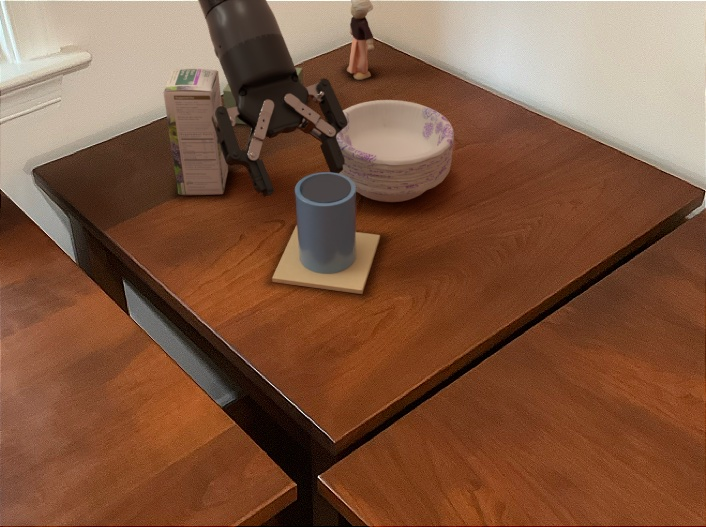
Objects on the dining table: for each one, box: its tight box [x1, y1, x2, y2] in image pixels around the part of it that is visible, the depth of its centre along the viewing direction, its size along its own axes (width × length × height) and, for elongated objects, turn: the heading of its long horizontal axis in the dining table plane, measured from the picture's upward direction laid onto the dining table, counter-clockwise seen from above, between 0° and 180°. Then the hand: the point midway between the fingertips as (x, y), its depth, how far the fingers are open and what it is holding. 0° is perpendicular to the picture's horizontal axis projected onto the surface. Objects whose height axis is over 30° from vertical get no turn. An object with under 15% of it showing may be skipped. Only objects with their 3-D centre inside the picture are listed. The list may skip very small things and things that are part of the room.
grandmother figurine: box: [346, 0, 375, 81], centre depth 124 cm, size 8×4×13 cm, turn 34°
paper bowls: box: [336, 99, 455, 203], centre depth 102 cm, size 15×15×8 cm
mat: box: [271, 224, 381, 295], centre depth 92 cm, size 10×10×1 cm
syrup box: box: [163, 67, 229, 196], centre depth 100 cm, size 6×6×14 cm
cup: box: [294, 171, 357, 274], centre depth 89 cm, size 6×6×9 cm
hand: (304, 183), depth 90 cm, fingers open, 8 cm apart
